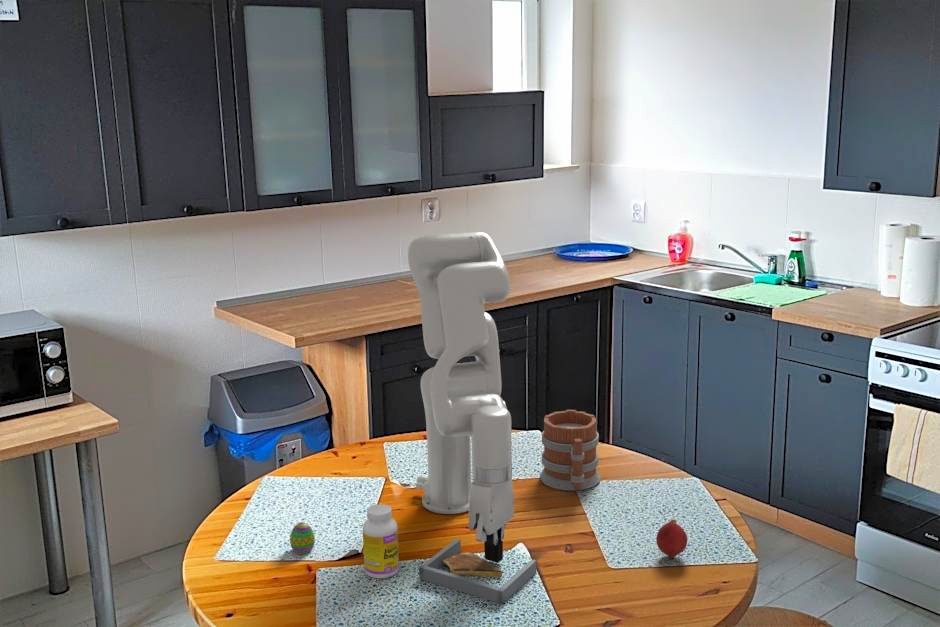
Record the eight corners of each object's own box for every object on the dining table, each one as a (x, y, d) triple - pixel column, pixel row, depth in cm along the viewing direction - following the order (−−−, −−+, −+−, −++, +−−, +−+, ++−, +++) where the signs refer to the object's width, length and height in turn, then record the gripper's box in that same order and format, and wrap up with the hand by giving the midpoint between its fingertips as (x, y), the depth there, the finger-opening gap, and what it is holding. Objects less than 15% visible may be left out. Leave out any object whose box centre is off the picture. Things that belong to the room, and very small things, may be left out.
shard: (504, 579, 181) (503, 570, 180) (471, 592, 176) (471, 583, 176) (470, 557, 189) (470, 549, 189) (438, 569, 185) (438, 560, 184)
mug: (594, 466, 231) (594, 407, 227) (610, 500, 212) (610, 436, 208) (536, 468, 230) (535, 409, 226) (547, 503, 211) (546, 439, 208)
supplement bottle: (385, 583, 179) (382, 520, 176) (357, 574, 183) (354, 512, 180) (406, 567, 185) (403, 506, 182) (378, 559, 188) (375, 499, 185)
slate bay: (419, 579, 180) (419, 567, 180) (456, 550, 191) (456, 538, 190) (502, 604, 171) (502, 591, 170) (536, 572, 182) (536, 560, 181)
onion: (668, 567, 182) (669, 528, 181) (650, 554, 187) (650, 516, 186) (692, 559, 185) (694, 521, 183) (673, 547, 190) (674, 510, 188)
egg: (306, 542, 196) (304, 515, 195) (320, 550, 193) (318, 522, 191) (285, 550, 193) (283, 523, 191) (300, 558, 189) (298, 530, 188)
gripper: (495, 454, 189) (496, 539, 194) (453, 481, 177) (456, 571, 182) (528, 461, 185) (529, 548, 190) (488, 489, 173) (490, 581, 178)
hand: (493, 559), depth 186 cm, fingers closed
